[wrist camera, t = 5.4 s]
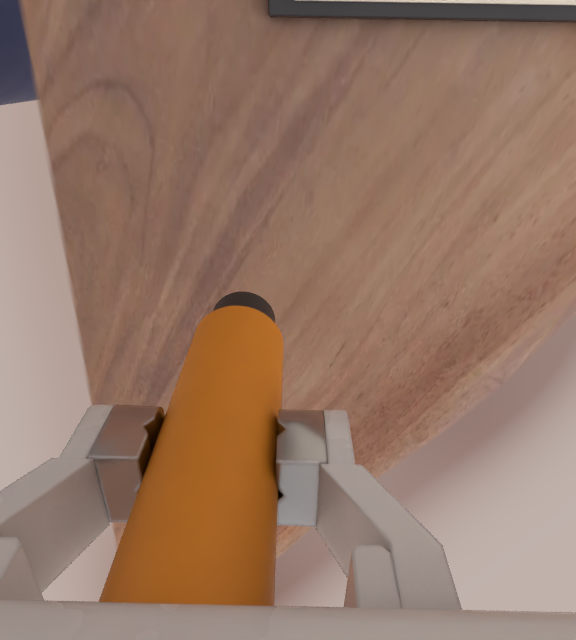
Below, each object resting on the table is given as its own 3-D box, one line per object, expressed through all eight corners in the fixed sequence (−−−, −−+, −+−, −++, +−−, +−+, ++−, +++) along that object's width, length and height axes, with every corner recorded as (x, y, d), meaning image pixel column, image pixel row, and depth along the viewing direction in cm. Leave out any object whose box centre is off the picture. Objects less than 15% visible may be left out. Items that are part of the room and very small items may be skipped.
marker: (204, 353, 16) (-30, 1128, 4) (198, 279, 14) (-161, 1115, 3) (285, 354, 16) (263, 1133, 4) (286, 281, 14) (258, 1124, 3)
